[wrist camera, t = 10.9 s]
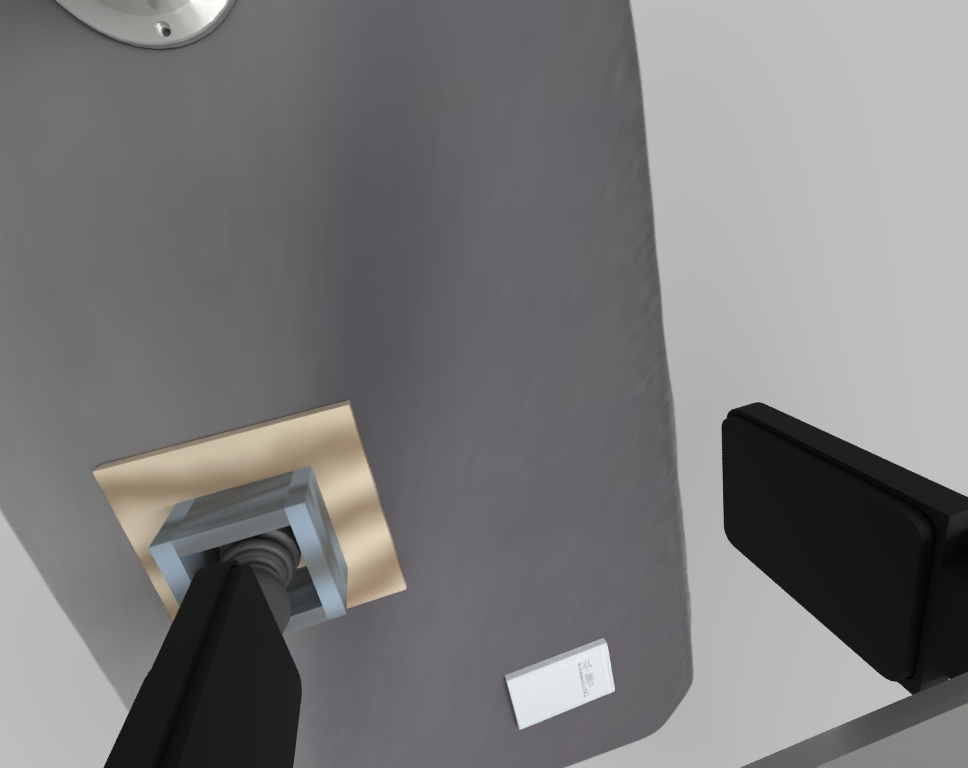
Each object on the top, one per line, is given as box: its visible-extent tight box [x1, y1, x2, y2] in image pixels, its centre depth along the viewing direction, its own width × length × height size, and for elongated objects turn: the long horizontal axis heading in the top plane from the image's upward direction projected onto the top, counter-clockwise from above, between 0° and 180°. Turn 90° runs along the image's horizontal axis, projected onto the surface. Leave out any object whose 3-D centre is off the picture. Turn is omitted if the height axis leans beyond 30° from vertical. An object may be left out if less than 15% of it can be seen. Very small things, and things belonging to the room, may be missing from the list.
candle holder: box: [219, 525, 301, 634], centre depth 32 cm, size 6×6×25 cm
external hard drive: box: [505, 638, 615, 730], centre depth 59 cm, size 2×8×12 cm
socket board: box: [93, 400, 407, 635], centre depth 42 cm, size 20×20×7 cm
